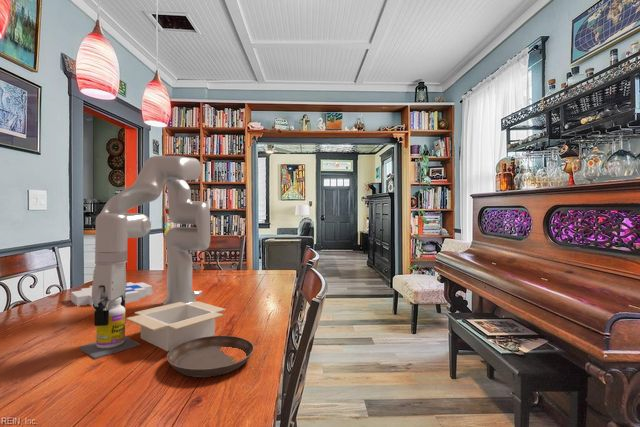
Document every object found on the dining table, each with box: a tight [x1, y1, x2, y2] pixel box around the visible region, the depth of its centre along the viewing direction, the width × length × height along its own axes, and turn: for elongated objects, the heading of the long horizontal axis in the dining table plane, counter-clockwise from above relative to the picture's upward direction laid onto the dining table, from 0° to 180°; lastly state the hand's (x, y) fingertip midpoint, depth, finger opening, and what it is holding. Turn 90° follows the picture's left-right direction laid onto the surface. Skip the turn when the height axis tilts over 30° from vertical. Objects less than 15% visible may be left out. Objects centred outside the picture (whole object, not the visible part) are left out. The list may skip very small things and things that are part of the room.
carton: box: [126, 300, 227, 352], centre depth 96 cm, size 23×23×7 cm
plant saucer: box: [166, 335, 255, 378], centre depth 80 cm, size 21×21×3 cm
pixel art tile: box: [70, 281, 153, 307], centre depth 141 cm, size 28×4×28 cm
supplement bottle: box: [95, 297, 126, 349], centre depth 89 cm, size 7×7×13 cm
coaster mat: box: [78, 335, 141, 360], centre depth 88 cm, size 11×11×1 cm
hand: (110, 319), depth 89 cm, fingers open, 9 cm apart
